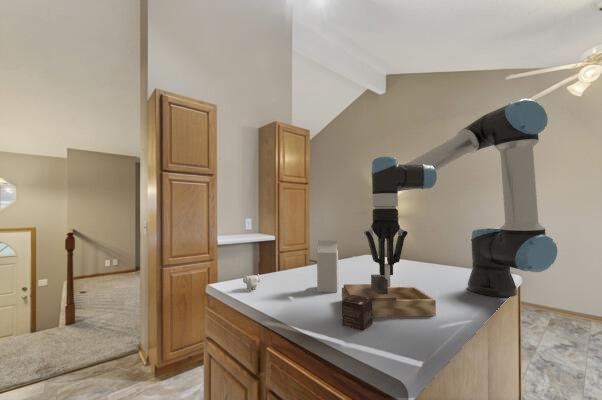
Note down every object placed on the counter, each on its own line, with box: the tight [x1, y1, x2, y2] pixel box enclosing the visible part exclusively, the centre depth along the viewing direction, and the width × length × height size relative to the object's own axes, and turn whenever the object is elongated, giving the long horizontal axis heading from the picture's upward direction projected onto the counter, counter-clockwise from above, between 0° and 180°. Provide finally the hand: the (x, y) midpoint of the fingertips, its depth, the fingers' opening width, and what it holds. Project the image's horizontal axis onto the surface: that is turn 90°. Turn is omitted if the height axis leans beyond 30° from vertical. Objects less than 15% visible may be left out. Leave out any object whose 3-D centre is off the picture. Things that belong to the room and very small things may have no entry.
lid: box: [343, 273, 396, 301], centre depth 87 cm, size 12×15×5 cm
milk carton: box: [316, 239, 339, 293], centre depth 107 cm, size 7×7×19 cm
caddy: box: [341, 286, 437, 317], centre depth 87 cm, size 24×14×5 cm, turn 91°
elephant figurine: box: [242, 273, 261, 291], centre depth 111 cm, size 7×8×6 cm
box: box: [341, 295, 373, 332], centre depth 74 cm, size 6×6×7 cm
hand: (386, 285), depth 87 cm, fingers closed
